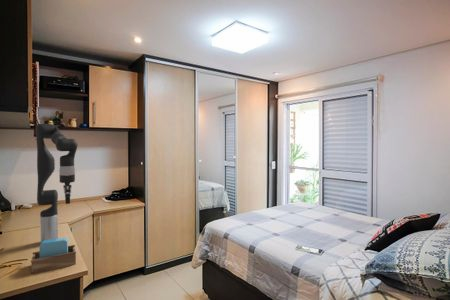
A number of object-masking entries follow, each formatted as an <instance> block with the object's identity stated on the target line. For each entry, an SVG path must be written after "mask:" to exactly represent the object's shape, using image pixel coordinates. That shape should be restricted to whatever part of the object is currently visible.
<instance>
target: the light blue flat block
mask: <svg viewBox="0 0 450 300" xmlns="http://www.w3.org/2000/svg"><path fill="white" fill-rule="evenodd" d="M68 246H69V239H68V238H67V237H58V239H50V240H44V241H42V242H41V241H40V244H39V251H40V258H44V257H50V256H55V255H60V254H65V253H68Z"/></svg>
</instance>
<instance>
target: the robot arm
mask: <svg viewBox="0 0 450 300" xmlns="http://www.w3.org/2000/svg"><path fill="white" fill-rule="evenodd" d="M35 138H36V139H35V140H36V149H37V152H36V153H37V154H36V155H37V156H36V157H37V159H36V172H37V189H36V190H37V191H36V201H37V205H38V206H47V205H48V206H50V207H48V208H46V209H44V210H41V211H40V213H39V215H40V216H39V220H40V222H39V224H40V243H41V242H42V241H44V240H50V239H58V238H59V222H58V221H59V218H58V217H59V215H58V214H59V213H58V202H59V200H58V199H59V198H58V197H59V195H58V194H59V193H58V190H57V189H47V190H44V187H45V185H46V183H47V182H48V180H49V178H50V177H51V176H52V175H53V173H54V172H55V168H56V167H55V166H56V165H55V164H56V163H55V161H56V160H55V158H54V156H53V154H52V153H51V151H49V149H48V148H47V146H46V144H45V140H44V139H47V140H49V139H50V140H51V142H52V143H53V144H54V145H55V148H56V150H57V151H59V152H68V153H67V154H64V155H62V156H60V157H59V173H58V174H59V175H58V176H59V183H61V184H64V185H63V194H64V198H65V204H66V205H69V204H71V193H72V187H73V186H72V183H75V181H76V169H75V156H76V152H77V150H78V141H77V140H76V139H75V138H68V137H67V136H66V135H64V134H63V133H61V130H60V129H59V128H58V127H57V125H55V124H51V123H37V125H36V127H35Z"/></svg>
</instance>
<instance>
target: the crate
mask: <svg viewBox="0 0 450 300" xmlns="http://www.w3.org/2000/svg"><path fill="white" fill-rule="evenodd" d="M76 257H77V251H76V245H75V244H72V245H68V253H65V254H60V255H55V256H50V257H44V258H40V250H39V251H34V252H32V257H31V260H30V263H31V274H36V273H41V272H45V271H50V270H54V269H59V268H64V267H69V266H74V265H76V264H77V262H76V261H77V258H76Z"/></svg>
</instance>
